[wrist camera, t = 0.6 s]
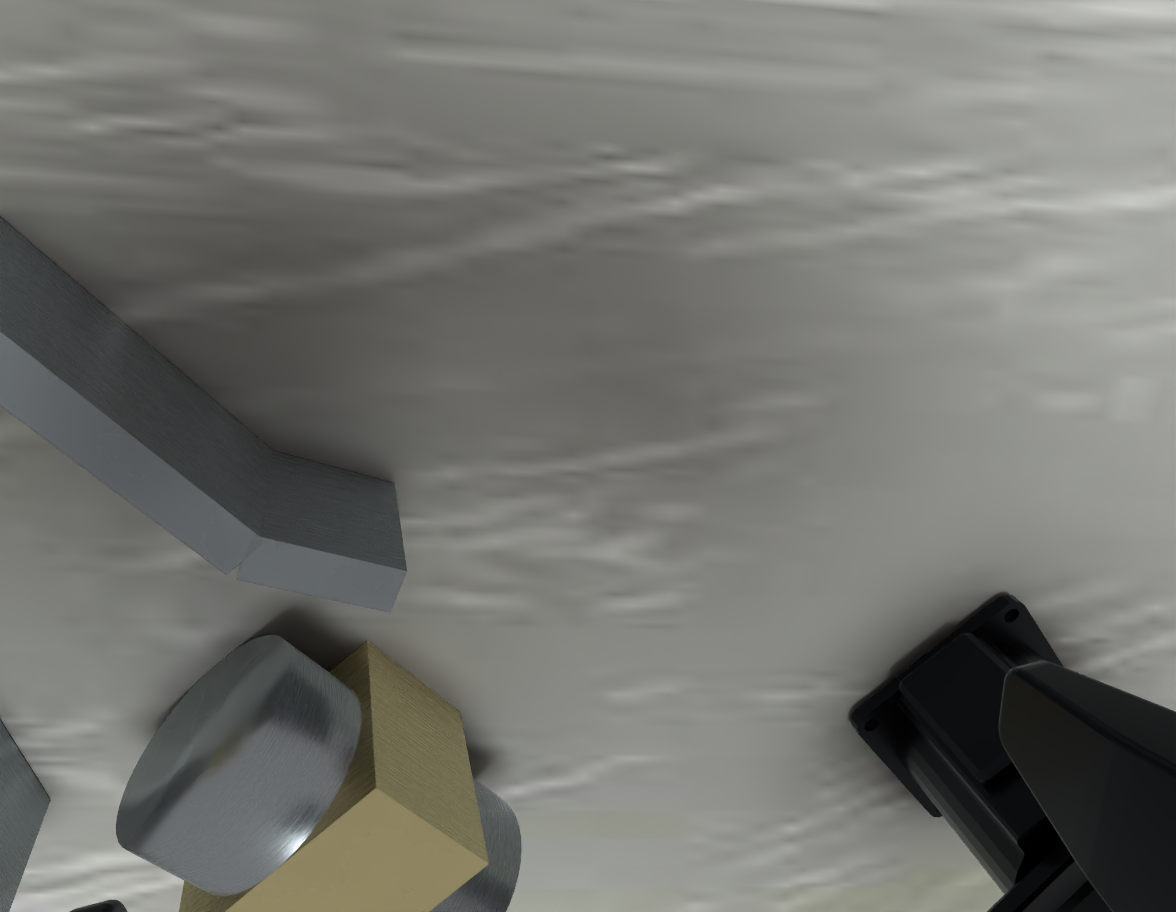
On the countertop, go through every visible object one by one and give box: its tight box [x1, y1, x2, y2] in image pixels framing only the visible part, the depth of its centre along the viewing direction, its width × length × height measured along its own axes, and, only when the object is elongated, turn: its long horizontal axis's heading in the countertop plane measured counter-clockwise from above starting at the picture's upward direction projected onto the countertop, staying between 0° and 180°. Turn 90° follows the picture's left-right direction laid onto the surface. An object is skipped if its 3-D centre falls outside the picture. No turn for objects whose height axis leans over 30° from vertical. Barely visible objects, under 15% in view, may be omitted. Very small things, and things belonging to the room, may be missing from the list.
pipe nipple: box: [116, 635, 521, 912], centre depth 22 cm, size 8×6×5 cm
